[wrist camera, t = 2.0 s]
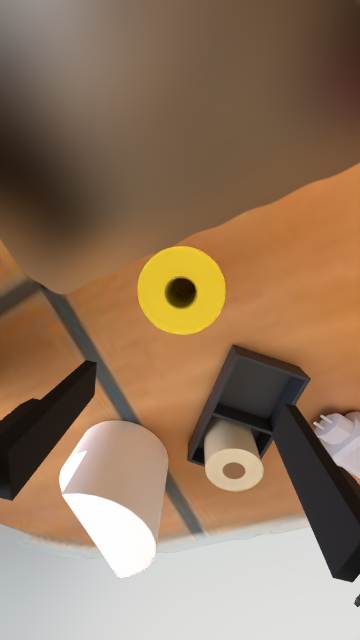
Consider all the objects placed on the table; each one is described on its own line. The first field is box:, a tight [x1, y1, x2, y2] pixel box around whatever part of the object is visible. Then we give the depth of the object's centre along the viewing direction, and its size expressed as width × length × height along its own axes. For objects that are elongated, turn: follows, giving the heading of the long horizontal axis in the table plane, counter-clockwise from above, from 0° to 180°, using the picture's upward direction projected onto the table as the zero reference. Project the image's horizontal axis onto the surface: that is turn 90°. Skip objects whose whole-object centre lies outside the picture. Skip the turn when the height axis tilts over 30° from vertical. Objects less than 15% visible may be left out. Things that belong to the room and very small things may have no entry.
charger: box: [313, 412, 360, 478], centre depth 34 cm, size 5×9×15 cm
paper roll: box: [204, 417, 263, 491], centre depth 35 cm, size 9×9×7 cm
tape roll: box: [138, 246, 226, 335], centre depth 27 cm, size 10×10×9 cm
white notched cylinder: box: [59, 420, 168, 578], centre depth 36 cm, size 20×20×13 cm
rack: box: [187, 345, 311, 467], centre depth 35 cm, size 12×24×4 cm, turn 162°
